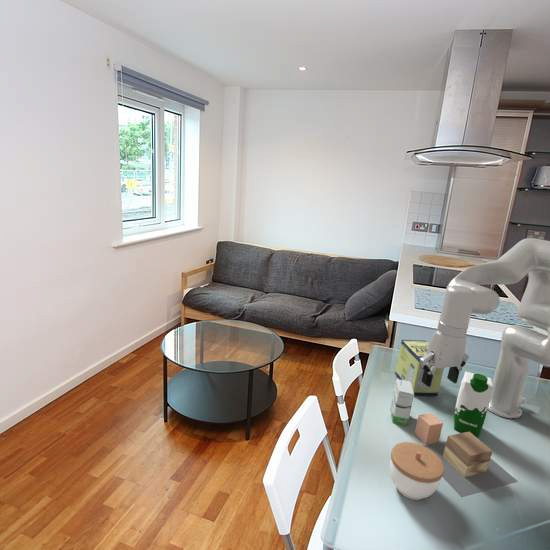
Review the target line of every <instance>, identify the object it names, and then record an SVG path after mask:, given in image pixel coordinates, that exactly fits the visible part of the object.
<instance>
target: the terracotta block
mask: <svg viewBox="0 0 550 550" xmlns="http://www.w3.org/2000/svg"><path fill="white" fill-rule="evenodd" d="M416 420H417V421H416V424H415V429H414V434H415V435H416V436H417V437H418V438H419V439H420V440H421V441H422V443H424V444H425V445H430V444H435V443H440V442H439V441H440V436H441V434H442V428H443V425H444V422H443V421H441V420H440V418H438V417H437V416H436V415H435V414H433V413H432V412H429V413H423V414H419V415H418V417H417V419H416Z"/></svg>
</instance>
